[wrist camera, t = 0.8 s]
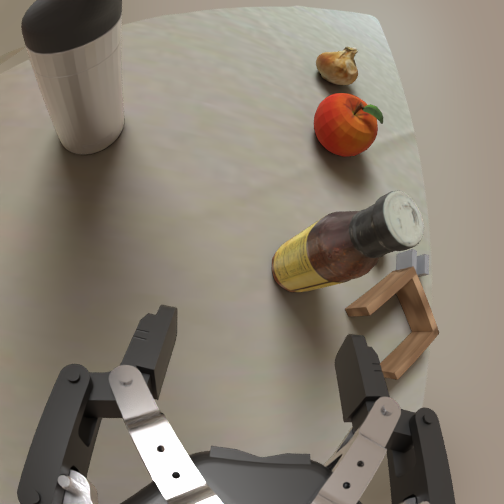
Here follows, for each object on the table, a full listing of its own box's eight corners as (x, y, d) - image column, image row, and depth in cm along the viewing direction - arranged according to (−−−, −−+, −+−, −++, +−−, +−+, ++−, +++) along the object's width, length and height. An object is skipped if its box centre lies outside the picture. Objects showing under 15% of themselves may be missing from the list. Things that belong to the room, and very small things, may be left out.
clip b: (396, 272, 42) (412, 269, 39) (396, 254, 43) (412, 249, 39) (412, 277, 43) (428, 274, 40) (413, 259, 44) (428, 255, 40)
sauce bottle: (319, 254, 38) (440, 202, 20) (307, 300, 36) (436, 279, 18) (274, 234, 37) (380, 160, 18) (259, 282, 35) (370, 242, 17)
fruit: (317, 104, 44) (349, 67, 35) (362, 140, 46) (399, 109, 36) (293, 137, 41) (327, 96, 32) (344, 177, 42) (386, 146, 33)
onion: (305, 59, 47) (325, 31, 39) (341, 69, 49) (362, 44, 42) (314, 87, 45) (336, 58, 38) (351, 96, 48) (375, 71, 40)
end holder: (345, 308, 38) (366, 306, 34) (392, 271, 42) (413, 266, 38) (376, 375, 37) (397, 379, 33) (418, 333, 41) (439, 333, 37)
